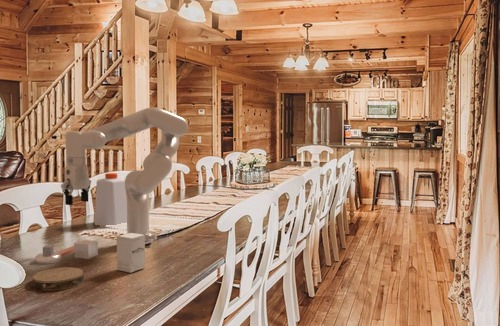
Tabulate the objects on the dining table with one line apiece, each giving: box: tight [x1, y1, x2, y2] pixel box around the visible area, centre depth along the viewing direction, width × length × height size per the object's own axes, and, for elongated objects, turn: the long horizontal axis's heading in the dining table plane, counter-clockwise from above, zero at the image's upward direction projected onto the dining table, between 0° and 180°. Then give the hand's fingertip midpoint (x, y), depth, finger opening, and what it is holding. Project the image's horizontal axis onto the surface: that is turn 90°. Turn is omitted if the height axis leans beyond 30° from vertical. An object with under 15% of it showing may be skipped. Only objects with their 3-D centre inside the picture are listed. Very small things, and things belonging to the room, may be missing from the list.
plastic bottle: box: [94, 172, 127, 227], centre depth 256 cm, size 15×15×28 cm
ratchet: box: [35, 244, 74, 265], centre depth 198 cm, size 9×26×6 cm, turn 164°
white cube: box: [73, 239, 99, 260], centre depth 196 cm, size 6×6×6 cm
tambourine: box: [32, 266, 84, 291], centre depth 165 cm, size 16×16×3 cm
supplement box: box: [116, 233, 146, 274], centre depth 179 cm, size 7×7×13 cm
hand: (77, 203), depth 201 cm, fingers open, 9 cm apart
